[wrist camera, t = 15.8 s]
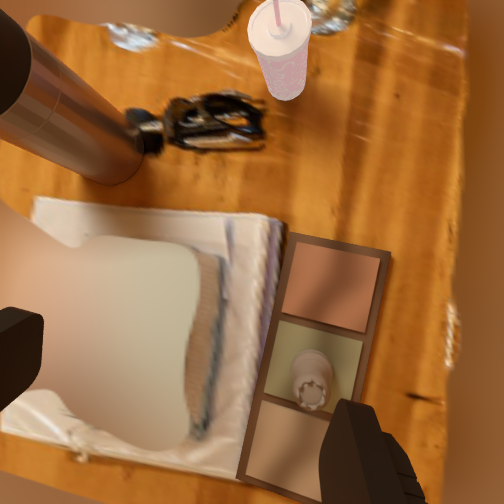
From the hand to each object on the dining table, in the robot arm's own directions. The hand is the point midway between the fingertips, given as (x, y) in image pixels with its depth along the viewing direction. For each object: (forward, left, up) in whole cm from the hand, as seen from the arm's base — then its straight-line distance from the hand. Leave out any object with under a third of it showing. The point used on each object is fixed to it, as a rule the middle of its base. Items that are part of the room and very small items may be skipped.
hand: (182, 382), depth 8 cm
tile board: (+5, -6, -29) cm, 30 cm away
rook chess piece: (+5, -6, -28) cm, 29 cm away
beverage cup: (-5, +26, -30) cm, 40 cm away
